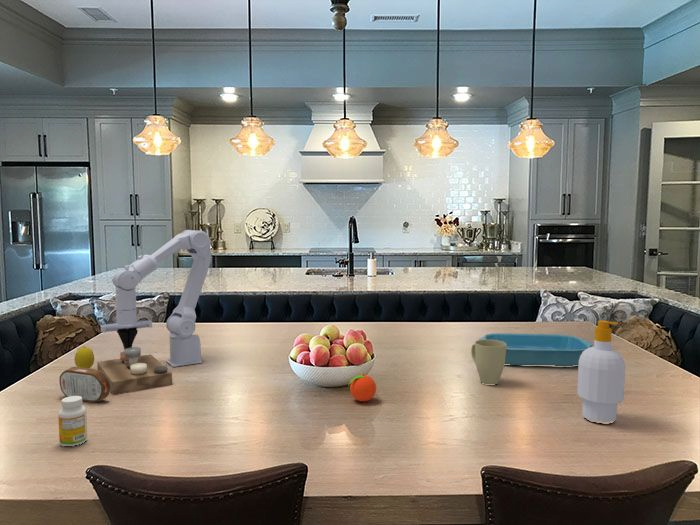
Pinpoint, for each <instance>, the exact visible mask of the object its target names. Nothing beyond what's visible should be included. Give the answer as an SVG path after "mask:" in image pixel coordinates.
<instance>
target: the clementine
mask: <svg viewBox="0 0 700 525" xmlns="http://www.w3.org/2000/svg"><path fill="white" fill-rule="evenodd" d="M347 387H350V388H349V389H350V390H349V391H350V394H351V395H352V397H353V398H354V399H355V400H356V401H359V402H365V403H366V402H368V401H370V400H372V399H373V398H374V396H375V394H376V391H377V385H376V383H375V380H374V379H373V378H372V377H370V376H369V375H368V374H359V375H356V376H354V377H353V378H352V379H350V380H349V382H348V386H347Z"/></svg>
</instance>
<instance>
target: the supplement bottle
mask: <svg viewBox="0 0 700 525" xmlns="http://www.w3.org/2000/svg"><path fill="white" fill-rule="evenodd" d="M60 402H61V409H59V411H58V414H57V415H58V416H57V417H58V418H57V419H58V435H59V436H58V437H59V438H58V439H59V445H60V446H61V447H64V446H72V447H76V446H75V445H77V446H80V445H83V444H85V443H86V442H87V441H88V423H87V422H88V421H87V409H86V407H85V406H84V405H83V401H82V397H81V396H70V397H66V396H65V397H64V398H62V399H61V401H60ZM86 440H87V441H86ZM85 441H86V442H85ZM84 442H85V443H84ZM82 443H83V444H82ZM79 444H80V445H79Z"/></svg>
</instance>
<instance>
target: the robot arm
mask: <svg viewBox="0 0 700 525" xmlns="http://www.w3.org/2000/svg"><path fill="white" fill-rule="evenodd" d="M211 243H212V240H211V239H210V237H209V235H208V234H207V233H206V231H204V230H199V229H198V230H192V229H185V230H183V231H182V232H181V233H177V234H176V235H175V236H174V237H173V238H171V239H170V240H168V241H167V242H166V243H164V244H163V245H162V246H161V247H160V248H158V249H157V250H155V251H154V252H153V253H152V254H144V255H139V256H137V259H136V260H135V261H134V262H132V263H130V264H129V265H128V264H126V265H125V266H124V269H119V270H118V271H116V272H115V273H114V275H113V278H112V279H111V282H112V285H114V286H115V310H116V311H115V312H116V322H114V323H113V322H112V323H108V324H101V325H100V332H101V333H108V332H116V333H117V334H118V337H119V339H120V340H121V343H122V345H123V350H124V351H125V349H126V348H131V347H133V344H134V341H135V339H136V336H137V335H138V329H143V328H144V329H146V328H153V321H152V320H137V319H138V318H137V317H138V316H137V314H138V313H137V291H136V288H137V287H138V285H139V282H141V281H142V280H143V279H145V278H146V277H147V276H149V275H150V274H151V273H153V272H154V271H156V270H157V269H158V265H159V263H160V262H162V261H164V260H165V259H167V258H169V257H170V256H172V255H173V254H175V253H176V252H178V251H182V250H184V251H185V250H186V251H187V252H188V253H189V254H190V256H191V258H192V259H193V262H192V265H191V267H190V271H189V273H188V276H187V279H186V282H185V284H184V288H183V292H182V293H181V297H180V299H179V302H178V305H177V306H176V307H175V308H174V309H173V310H172V313H171V314H170V316H169V317H168V318H167V320H166V323H165V325H166V329H167V330H168V331H169V359H166V362H167V363H168V364H169V365H170V366H171V367H173V368H175V367H182V366H189V365H195V364H201V363H202V355H201V354H202V352H201V351H202V349H201V345H202V344H201V339H200V338H201V337H200V336H199V335H198V334H194V333H195V330H196V319H197V315H196V310H195V309H196V307H197V303H198V301H199V298H200V295H201V292H202V289H203V285H204V282H205V280H206V276H207V274H208V272H209V269H210V265H211V263H212V262H211V261H212V258H213V257H212V251H211Z"/></svg>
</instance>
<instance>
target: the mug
mask: <svg viewBox="0 0 700 525" xmlns="http://www.w3.org/2000/svg"><path fill="white" fill-rule="evenodd" d="M506 346H507V344H506V343H505V342H502V341H498V340H487V339H486V340H479V339H478V340H475V341H474V343H473V344H472V346H471V350H470V351H471V357H472V360H473V362H474V364H475V366H476V371H477V373H478V376H479V380H480V383H481V382H482V383H484V384H497V383H498V384H499V382H500V379H501V378H502V377H501V376H502V373H503V371H504V369H505V365H504V364H505V356H506ZM482 383H481V384H482ZM484 384H483V385H484Z"/></svg>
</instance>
